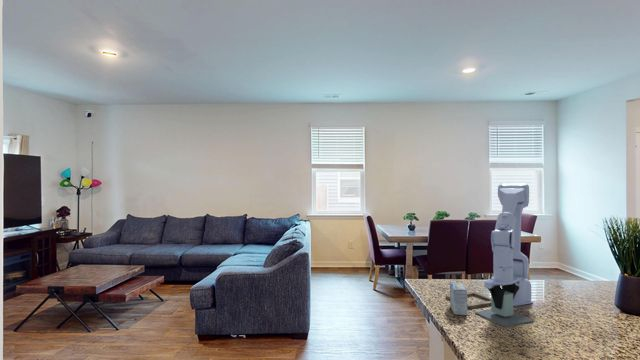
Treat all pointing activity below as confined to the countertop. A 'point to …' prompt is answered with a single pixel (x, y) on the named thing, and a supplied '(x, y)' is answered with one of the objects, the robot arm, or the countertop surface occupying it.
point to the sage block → (504, 305)
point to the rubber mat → (504, 318)
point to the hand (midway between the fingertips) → (503, 307)
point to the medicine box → (458, 298)
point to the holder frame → (476, 305)
